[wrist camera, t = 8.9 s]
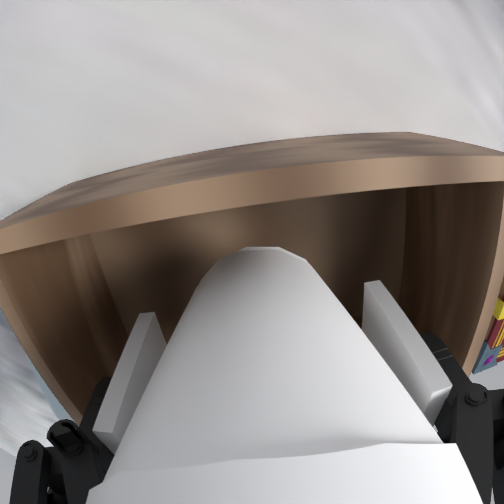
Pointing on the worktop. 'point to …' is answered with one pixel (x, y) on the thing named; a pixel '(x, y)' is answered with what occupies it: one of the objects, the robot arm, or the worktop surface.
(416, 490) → the foam cup
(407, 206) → the open wooden box
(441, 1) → the worktop surface
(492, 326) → the decorative book
